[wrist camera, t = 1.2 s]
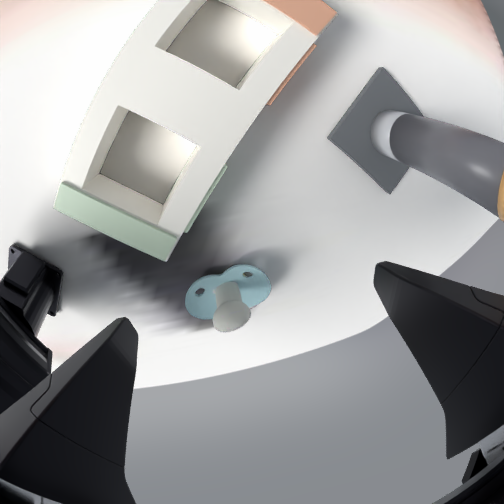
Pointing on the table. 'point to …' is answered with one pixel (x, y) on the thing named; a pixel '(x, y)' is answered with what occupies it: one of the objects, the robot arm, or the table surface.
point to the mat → (359, 128)
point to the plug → (445, 155)
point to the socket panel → (179, 117)
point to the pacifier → (228, 296)
